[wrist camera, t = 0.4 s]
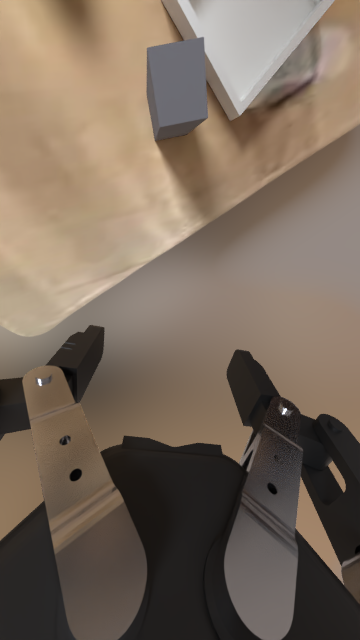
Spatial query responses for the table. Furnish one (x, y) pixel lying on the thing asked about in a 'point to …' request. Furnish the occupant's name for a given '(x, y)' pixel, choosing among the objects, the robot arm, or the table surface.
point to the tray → (244, 41)
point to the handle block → (176, 87)
